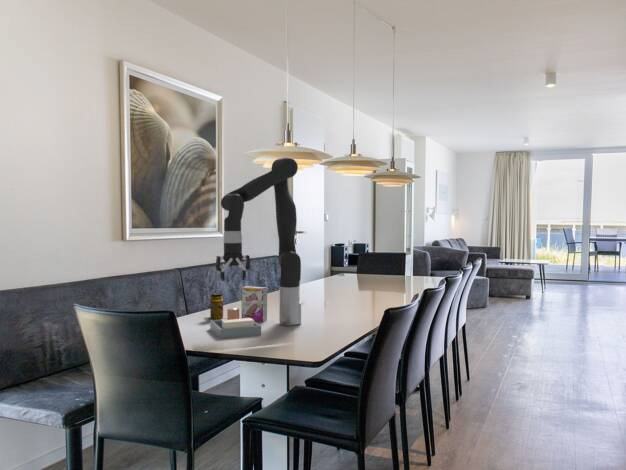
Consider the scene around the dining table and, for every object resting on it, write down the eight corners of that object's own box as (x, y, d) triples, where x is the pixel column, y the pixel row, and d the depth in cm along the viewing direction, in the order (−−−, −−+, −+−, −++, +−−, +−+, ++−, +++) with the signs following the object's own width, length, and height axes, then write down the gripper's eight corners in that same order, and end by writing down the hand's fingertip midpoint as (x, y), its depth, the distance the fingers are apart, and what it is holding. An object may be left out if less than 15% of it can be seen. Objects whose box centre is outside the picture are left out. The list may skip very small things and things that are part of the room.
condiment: (226, 319, 243) (226, 294, 243) (209, 321, 239) (209, 295, 238) (220, 316, 249) (220, 292, 249) (203, 318, 245) (203, 293, 244)
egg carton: (250, 331, 214) (250, 317, 213) (254, 334, 209) (254, 320, 209) (221, 334, 209) (221, 320, 209) (224, 336, 204) (224, 322, 204)
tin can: (237, 328, 219) (237, 307, 219) (240, 330, 215) (240, 309, 214) (226, 329, 217) (225, 308, 217) (229, 331, 213) (228, 310, 212)
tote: (248, 327, 225) (248, 317, 225) (261, 336, 208) (261, 326, 208) (210, 331, 218) (210, 320, 218) (220, 341, 201) (219, 329, 201)
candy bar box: (240, 322, 236) (240, 287, 235) (245, 320, 240) (245, 285, 240) (262, 324, 232) (262, 288, 231) (267, 322, 237) (267, 287, 236)
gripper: (218, 242, 208) (218, 282, 209) (251, 241, 213) (252, 280, 214) (213, 241, 215) (214, 280, 215) (246, 240, 220) (247, 278, 221)
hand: (233, 280), depth 215 cm, fingers open, 8 cm apart
